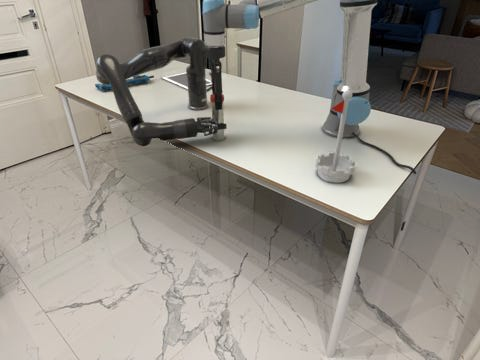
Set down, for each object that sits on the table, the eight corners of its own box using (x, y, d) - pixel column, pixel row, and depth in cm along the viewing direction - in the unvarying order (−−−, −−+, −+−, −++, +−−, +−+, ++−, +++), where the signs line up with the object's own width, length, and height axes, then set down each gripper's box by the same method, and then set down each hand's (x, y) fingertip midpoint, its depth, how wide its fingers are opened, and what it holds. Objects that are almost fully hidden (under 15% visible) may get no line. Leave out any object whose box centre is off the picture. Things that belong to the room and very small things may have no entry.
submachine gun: (140, 68, 224) (158, 75, 207) (141, 74, 226) (159, 81, 209) (87, 79, 205) (103, 86, 189) (89, 85, 207) (104, 93, 190)
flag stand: (338, 161, 126) (352, 82, 110) (360, 179, 116) (380, 94, 100) (307, 168, 122) (318, 86, 106) (328, 187, 112) (342, 100, 96)
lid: (226, 101, 134) (226, 96, 133) (213, 103, 132) (213, 98, 131) (220, 97, 138) (220, 92, 137) (208, 99, 136) (207, 94, 135)
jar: (211, 139, 143) (209, 98, 133) (215, 134, 147) (213, 94, 137) (222, 141, 141) (220, 100, 132) (225, 136, 145) (224, 96, 136)
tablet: (161, 78, 216) (161, 77, 216) (188, 72, 227) (188, 71, 227) (189, 90, 196) (189, 89, 195) (217, 83, 207) (217, 82, 206)
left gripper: (186, 127, 129) (229, 121, 134) (179, 113, 140) (219, 108, 145) (188, 144, 133) (229, 138, 138) (181, 130, 144) (220, 125, 149)
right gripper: (229, 51, 116) (230, 114, 128) (221, 39, 133) (223, 96, 145) (207, 52, 115) (210, 115, 127) (202, 40, 131) (205, 97, 144)
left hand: (224, 123), depth 141 cm, fingers closed on jar, 5 cm apart
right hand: (217, 105), depth 136 cm, fingers open, 7 cm apart
